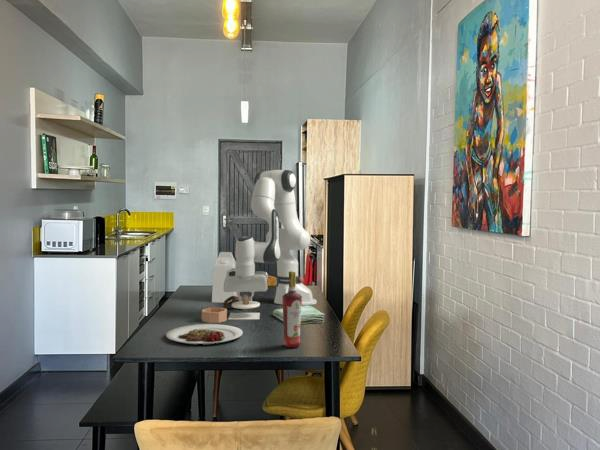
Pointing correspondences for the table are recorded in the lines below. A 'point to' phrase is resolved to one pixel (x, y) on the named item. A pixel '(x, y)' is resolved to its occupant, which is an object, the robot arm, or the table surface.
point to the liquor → (292, 314)
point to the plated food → (204, 334)
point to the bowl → (214, 315)
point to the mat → (244, 316)
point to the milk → (222, 276)
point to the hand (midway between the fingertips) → (245, 301)
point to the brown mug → (231, 299)
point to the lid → (245, 303)
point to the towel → (304, 315)
